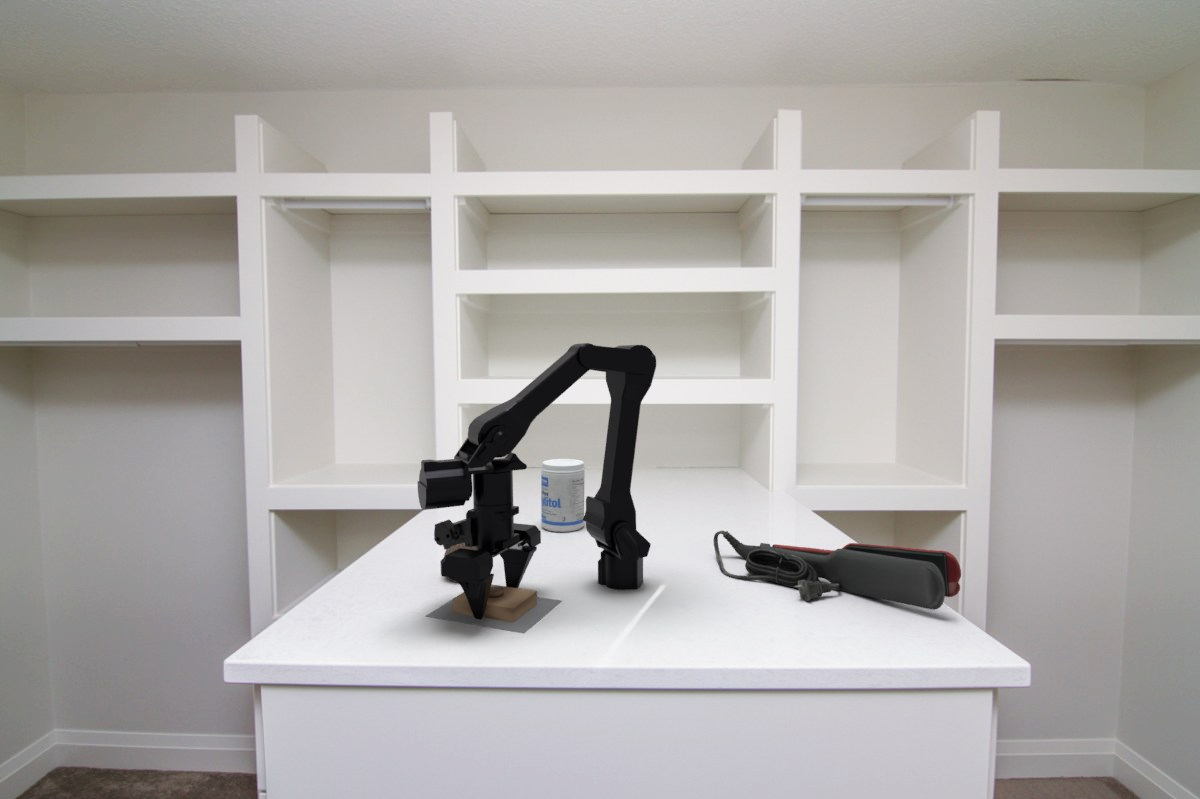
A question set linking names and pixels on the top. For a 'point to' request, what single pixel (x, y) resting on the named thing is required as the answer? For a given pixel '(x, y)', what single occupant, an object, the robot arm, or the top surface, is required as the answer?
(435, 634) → the top surface
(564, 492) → the supplement tub
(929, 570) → the hair straightener
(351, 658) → the top surface
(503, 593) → the lid
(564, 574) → the top surface
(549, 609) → the mat
